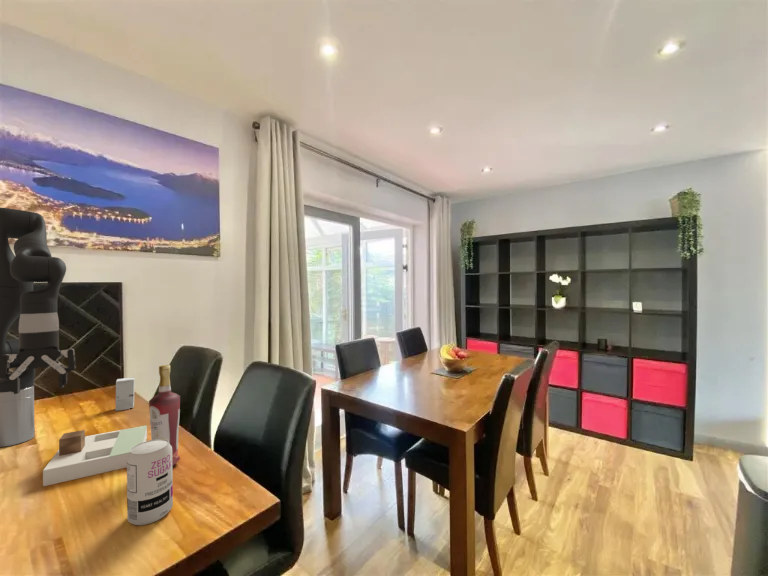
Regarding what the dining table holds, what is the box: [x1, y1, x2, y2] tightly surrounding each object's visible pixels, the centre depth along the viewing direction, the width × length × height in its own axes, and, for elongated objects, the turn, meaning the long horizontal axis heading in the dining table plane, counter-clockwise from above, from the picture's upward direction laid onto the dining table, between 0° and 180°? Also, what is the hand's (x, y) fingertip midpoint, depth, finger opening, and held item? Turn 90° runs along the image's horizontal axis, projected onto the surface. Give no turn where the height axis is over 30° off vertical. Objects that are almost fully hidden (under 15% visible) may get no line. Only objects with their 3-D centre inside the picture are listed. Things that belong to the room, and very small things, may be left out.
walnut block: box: [58, 429, 86, 456], centre depth 95 cm, size 4×4×4 cm
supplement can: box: [126, 439, 174, 526], centre depth 74 cm, size 8×8×15 cm
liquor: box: [148, 364, 181, 468], centre depth 93 cm, size 7×7×28 cm
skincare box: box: [114, 377, 135, 412], centre depth 139 cm, size 6×4×12 cm
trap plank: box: [42, 425, 148, 487], centre depth 98 cm, size 20×20×4 cm
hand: (39, 390), depth 90 cm, fingers open, 8 cm apart
